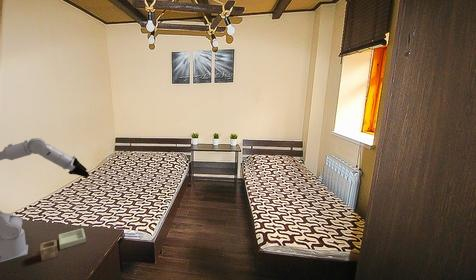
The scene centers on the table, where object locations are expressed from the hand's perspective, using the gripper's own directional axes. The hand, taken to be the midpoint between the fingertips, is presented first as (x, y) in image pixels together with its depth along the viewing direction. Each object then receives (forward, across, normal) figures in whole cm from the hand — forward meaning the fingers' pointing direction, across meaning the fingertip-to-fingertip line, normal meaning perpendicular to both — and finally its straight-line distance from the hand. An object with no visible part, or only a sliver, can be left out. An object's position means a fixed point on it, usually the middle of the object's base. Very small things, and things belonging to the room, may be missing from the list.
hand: (86, 173), depth 112 cm
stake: (+9, -9, +34) cm, 37 cm away
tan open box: (+9, -9, +34) cm, 37 cm away
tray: (+15, -3, +29) cm, 33 cm away
